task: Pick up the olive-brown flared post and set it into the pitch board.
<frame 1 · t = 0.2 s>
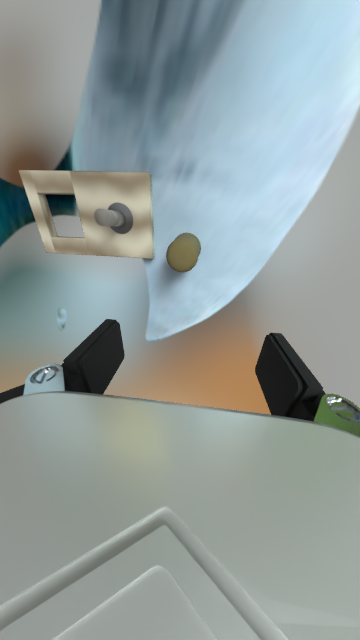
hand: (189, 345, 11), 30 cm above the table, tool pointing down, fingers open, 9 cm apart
pitch board: (96, 218, 35), on the table
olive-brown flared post: (186, 248, 36), on the table
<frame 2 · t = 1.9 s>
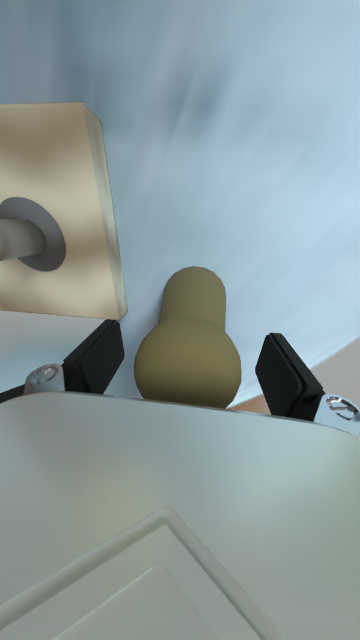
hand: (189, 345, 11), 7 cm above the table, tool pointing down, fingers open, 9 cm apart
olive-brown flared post: (194, 297, 17), on the table
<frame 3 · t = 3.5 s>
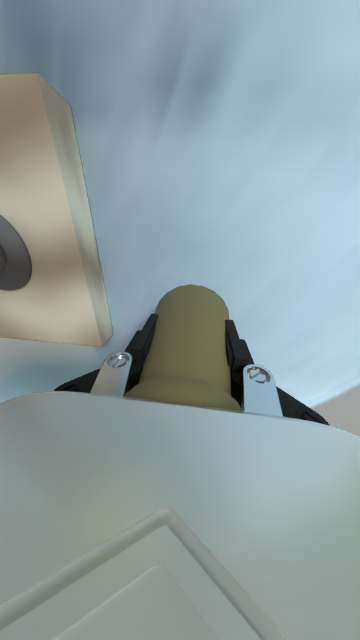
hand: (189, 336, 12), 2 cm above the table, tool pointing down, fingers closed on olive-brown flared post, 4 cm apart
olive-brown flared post: (191, 319, 14), on the table, touching gripper
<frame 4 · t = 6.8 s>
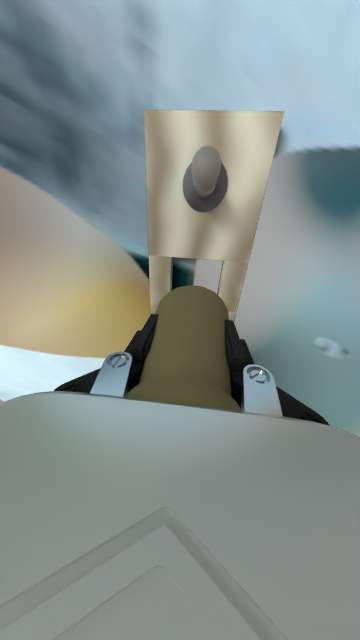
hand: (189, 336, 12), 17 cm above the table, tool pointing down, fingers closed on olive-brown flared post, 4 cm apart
pitch board: (199, 240, 24), on the table
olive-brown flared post: (191, 320, 14), point 15 cm above the table, touching gripper
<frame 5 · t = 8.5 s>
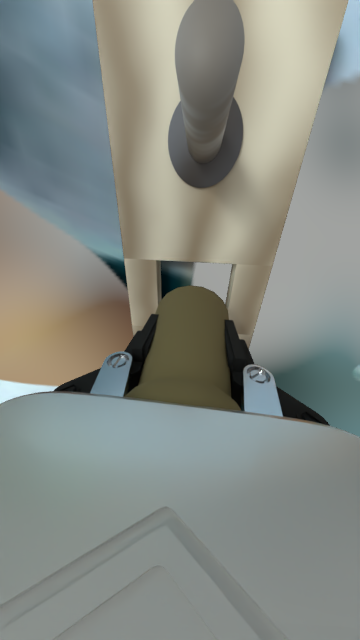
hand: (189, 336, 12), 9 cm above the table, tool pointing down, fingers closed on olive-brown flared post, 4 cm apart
pitch board: (197, 235, 17), on the table
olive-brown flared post: (191, 320, 14), point 6 cm above the table, touching gripper
when the fingers open (5 cm above the table, at t = 10.0 s): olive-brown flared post drops 2 cm, resting in pitch board.
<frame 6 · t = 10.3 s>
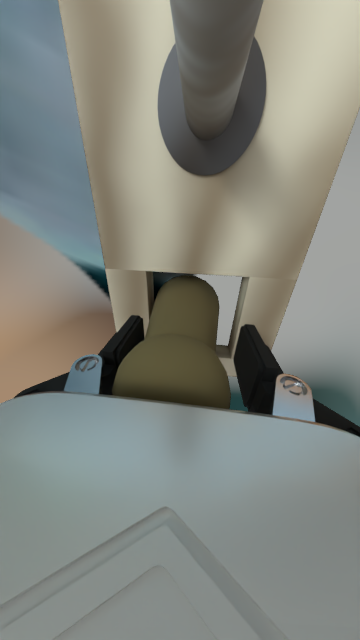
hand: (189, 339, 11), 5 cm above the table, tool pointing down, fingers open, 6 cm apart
pitch board: (199, 239, 13), on the table
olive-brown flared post: (186, 306, 16), resting in pitch board
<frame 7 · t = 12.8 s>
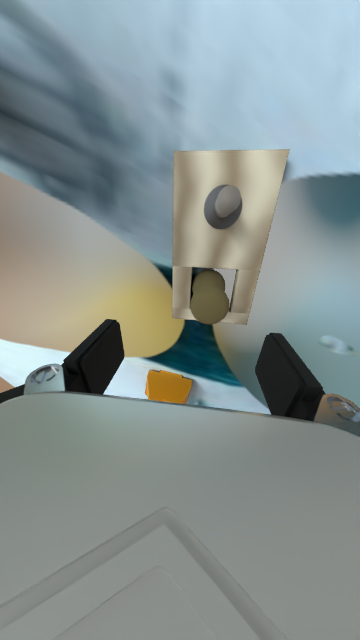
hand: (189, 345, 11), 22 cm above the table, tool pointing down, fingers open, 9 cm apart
bracket: (169, 381, 44), on the table
pitch board: (216, 252, 28), on the table
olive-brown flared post: (208, 285, 31), resting in pitch board
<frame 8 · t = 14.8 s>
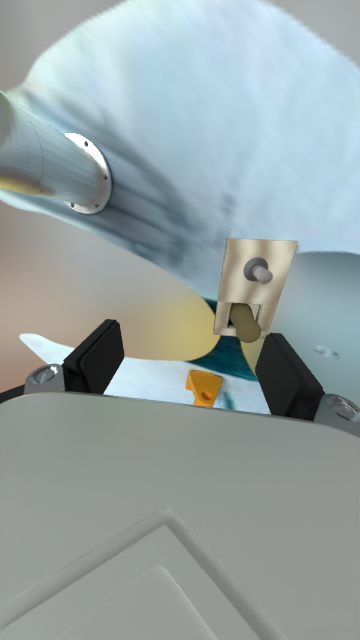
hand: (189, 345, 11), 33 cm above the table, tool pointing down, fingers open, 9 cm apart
bracket: (202, 378, 59), on the table
pitch board: (247, 292, 42), on the table
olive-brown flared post: (239, 312, 45), resting in pitch board
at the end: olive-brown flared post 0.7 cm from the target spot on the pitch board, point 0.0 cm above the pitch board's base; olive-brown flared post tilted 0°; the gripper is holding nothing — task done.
